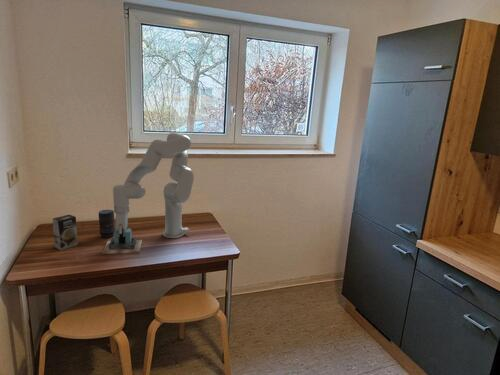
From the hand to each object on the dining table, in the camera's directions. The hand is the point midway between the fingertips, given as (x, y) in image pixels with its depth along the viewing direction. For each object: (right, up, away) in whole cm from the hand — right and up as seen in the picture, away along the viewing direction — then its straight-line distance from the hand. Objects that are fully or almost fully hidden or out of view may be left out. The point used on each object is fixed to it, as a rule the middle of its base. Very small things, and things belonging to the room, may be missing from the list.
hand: (123, 240), depth 176 cm
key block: (0, -1, 0) cm, 1 cm away
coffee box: (-29, -3, -1) cm, 30 cm away
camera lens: (-14, 0, +14) cm, 20 cm away
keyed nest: (0, -4, +1) cm, 4 cm away
